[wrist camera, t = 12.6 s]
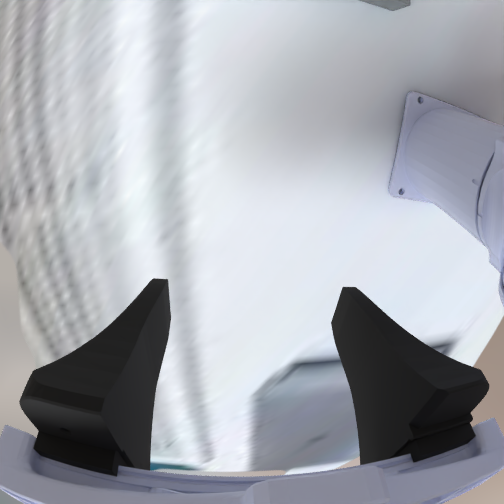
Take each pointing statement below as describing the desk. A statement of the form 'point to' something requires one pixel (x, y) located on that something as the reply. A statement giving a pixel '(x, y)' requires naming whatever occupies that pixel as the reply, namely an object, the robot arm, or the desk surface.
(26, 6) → the desk surface
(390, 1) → the tray
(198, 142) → the desk surface
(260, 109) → the desk surface
